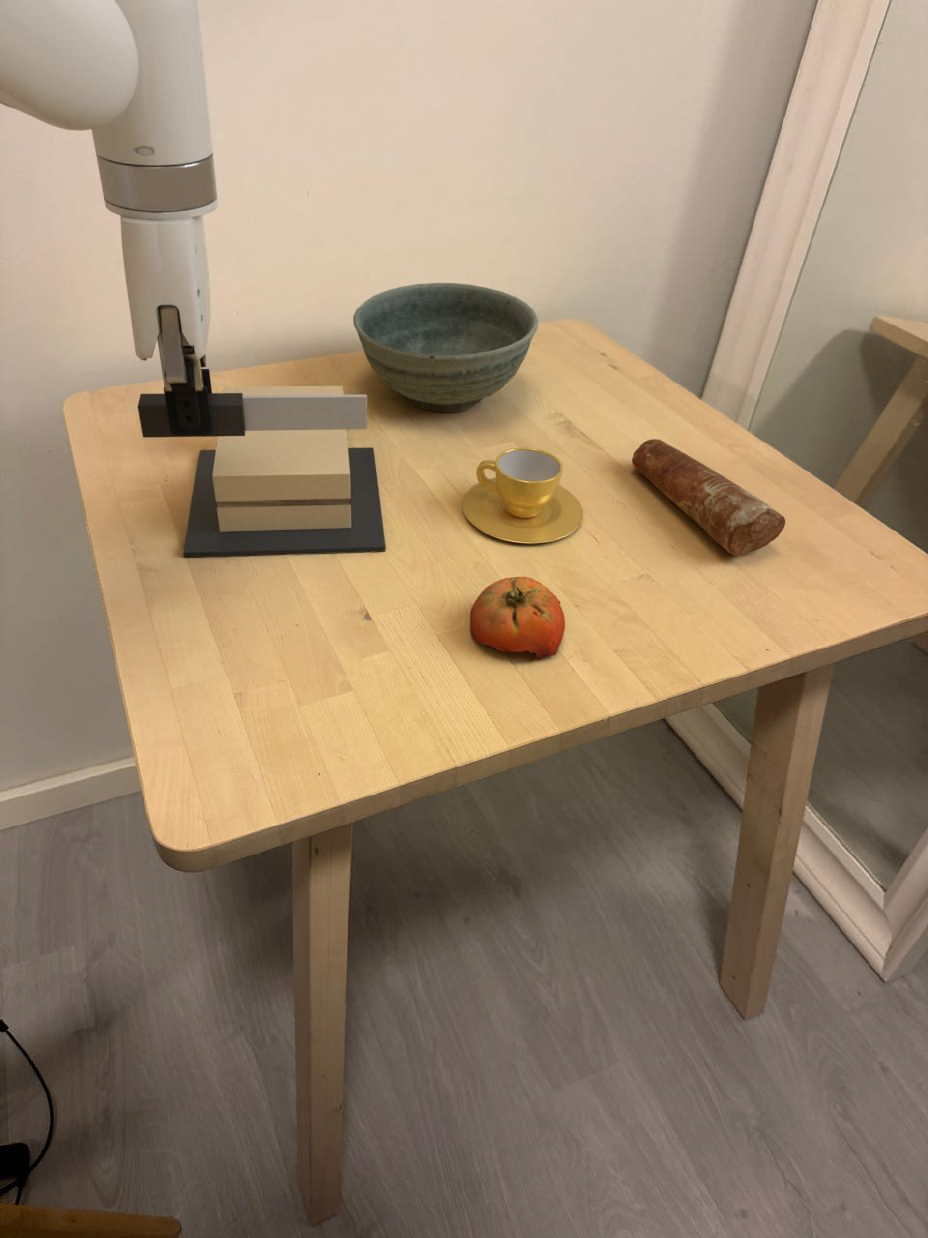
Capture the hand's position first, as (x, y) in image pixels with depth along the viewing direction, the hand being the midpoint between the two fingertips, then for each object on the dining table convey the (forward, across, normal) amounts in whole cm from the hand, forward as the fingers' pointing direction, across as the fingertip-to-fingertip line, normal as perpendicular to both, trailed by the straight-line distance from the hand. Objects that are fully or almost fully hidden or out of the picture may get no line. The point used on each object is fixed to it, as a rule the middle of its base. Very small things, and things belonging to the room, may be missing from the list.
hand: (193, 422), depth 73 cm
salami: (+13, -3, +47) cm, 49 cm away
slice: (+12, -18, +7) cm, 22 cm away
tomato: (+13, +13, +26) cm, 32 cm away
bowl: (+13, -30, +25) cm, 41 cm away
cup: (+13, -4, +30) cm, 33 cm away
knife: (+1, 0, +5) cm, 5 cm away
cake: (+13, -8, +7) cm, 17 cm away
